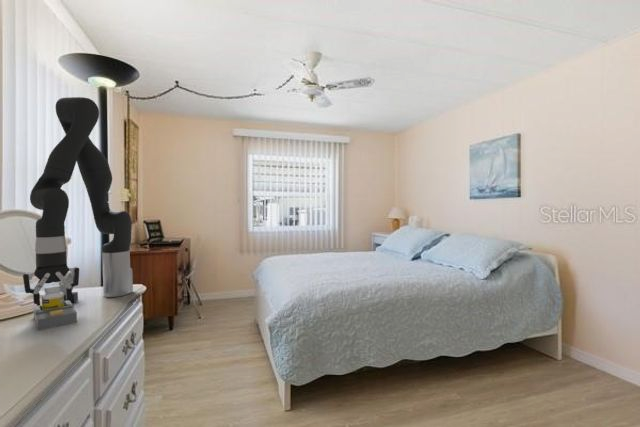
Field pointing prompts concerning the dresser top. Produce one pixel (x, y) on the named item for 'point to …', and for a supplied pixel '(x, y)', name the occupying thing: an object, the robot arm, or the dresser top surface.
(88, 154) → the robot arm
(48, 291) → the supplement bottle
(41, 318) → the gray rectangular box
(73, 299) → the stone bust sculpture
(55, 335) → the dresser top surface
